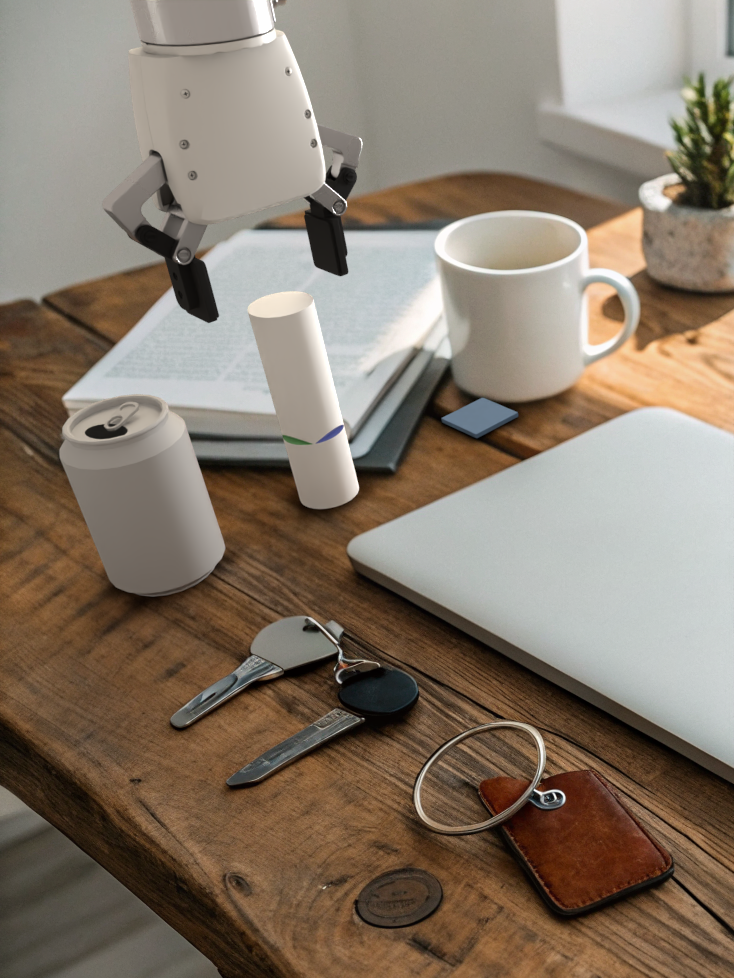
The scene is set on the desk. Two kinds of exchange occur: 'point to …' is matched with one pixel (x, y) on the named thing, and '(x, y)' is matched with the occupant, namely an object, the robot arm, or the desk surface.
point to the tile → (479, 417)
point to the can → (142, 494)
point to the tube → (304, 397)
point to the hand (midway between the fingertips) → (269, 293)
